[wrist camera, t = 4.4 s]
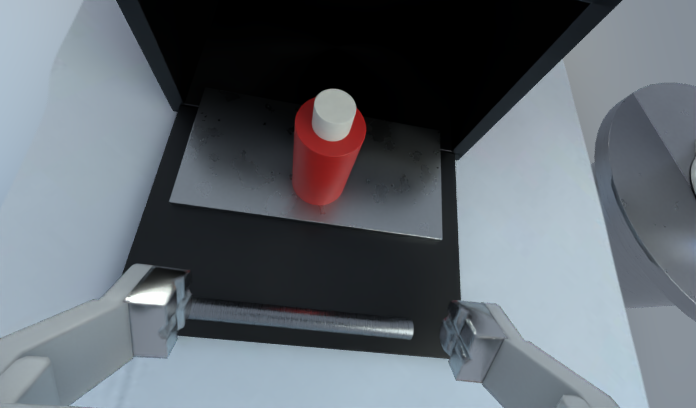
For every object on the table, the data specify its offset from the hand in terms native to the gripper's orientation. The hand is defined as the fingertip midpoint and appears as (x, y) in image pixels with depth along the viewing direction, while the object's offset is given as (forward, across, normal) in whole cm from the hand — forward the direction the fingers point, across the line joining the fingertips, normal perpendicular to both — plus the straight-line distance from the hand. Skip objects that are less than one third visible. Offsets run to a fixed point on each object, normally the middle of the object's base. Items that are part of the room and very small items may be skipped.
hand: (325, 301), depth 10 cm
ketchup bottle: (+20, 0, +3) cm, 20 cm away
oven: (+27, 0, 0) cm, 27 cm away
